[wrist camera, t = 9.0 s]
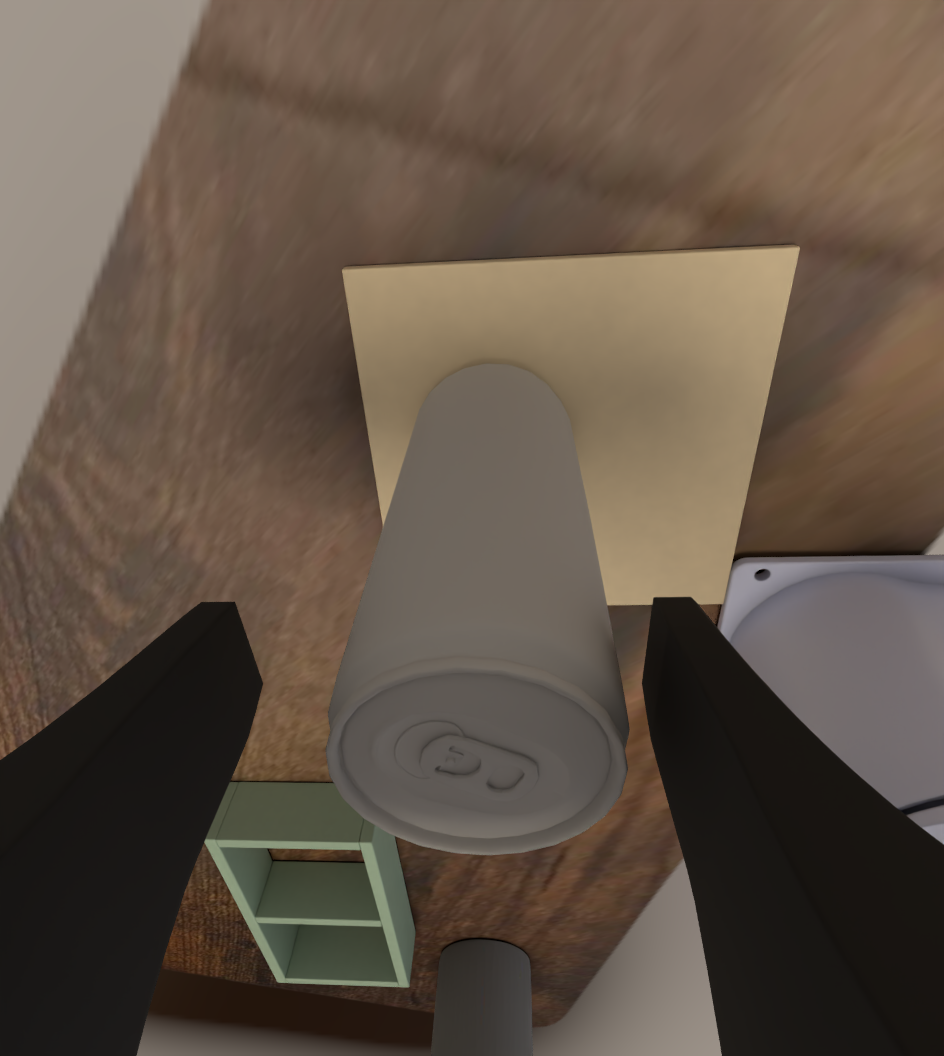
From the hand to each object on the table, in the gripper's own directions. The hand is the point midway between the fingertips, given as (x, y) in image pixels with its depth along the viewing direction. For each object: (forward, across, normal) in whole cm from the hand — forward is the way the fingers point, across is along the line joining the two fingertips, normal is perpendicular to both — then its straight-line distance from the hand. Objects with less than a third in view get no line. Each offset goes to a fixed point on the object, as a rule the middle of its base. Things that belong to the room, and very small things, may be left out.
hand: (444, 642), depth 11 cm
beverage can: (+10, -1, +1) cm, 10 cm away
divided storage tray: (+10, +9, +27) cm, 30 cm away
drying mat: (+10, -3, +2) cm, 11 cm away
